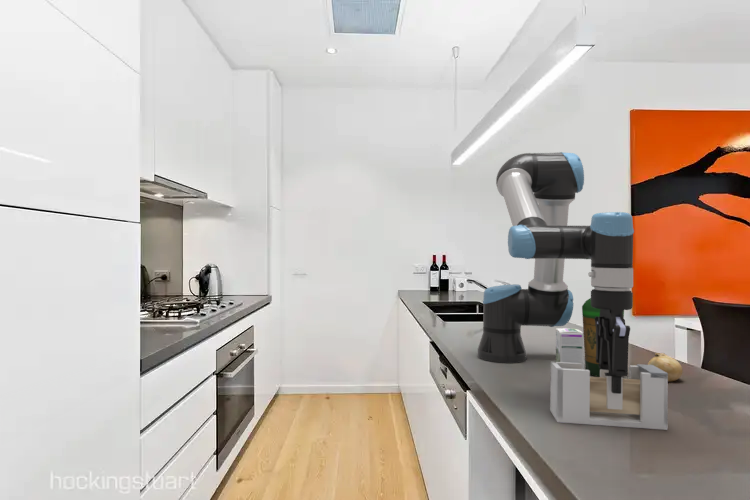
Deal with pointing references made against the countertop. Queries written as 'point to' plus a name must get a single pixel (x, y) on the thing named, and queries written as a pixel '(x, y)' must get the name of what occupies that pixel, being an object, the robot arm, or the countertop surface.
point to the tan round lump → (667, 366)
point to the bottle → (590, 337)
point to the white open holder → (575, 408)
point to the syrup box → (570, 345)
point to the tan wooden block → (629, 396)
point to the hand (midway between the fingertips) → (610, 404)
